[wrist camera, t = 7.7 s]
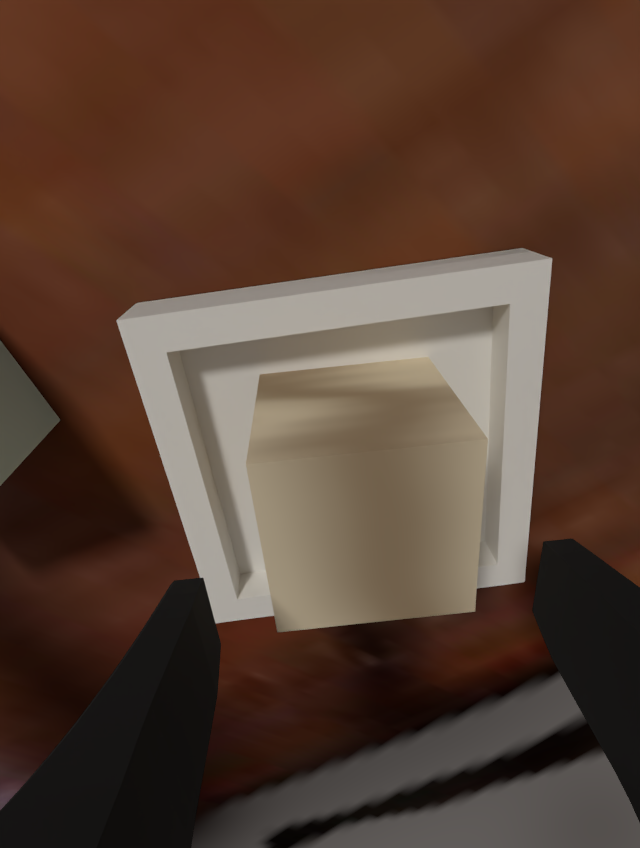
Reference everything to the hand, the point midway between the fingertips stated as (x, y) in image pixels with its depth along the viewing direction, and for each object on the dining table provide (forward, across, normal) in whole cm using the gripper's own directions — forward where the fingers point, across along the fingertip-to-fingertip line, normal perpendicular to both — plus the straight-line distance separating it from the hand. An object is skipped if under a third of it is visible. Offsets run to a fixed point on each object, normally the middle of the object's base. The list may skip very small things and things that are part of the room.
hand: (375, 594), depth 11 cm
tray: (+7, 0, 0) cm, 7 cm away
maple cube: (+6, 0, 0) cm, 6 cm away
